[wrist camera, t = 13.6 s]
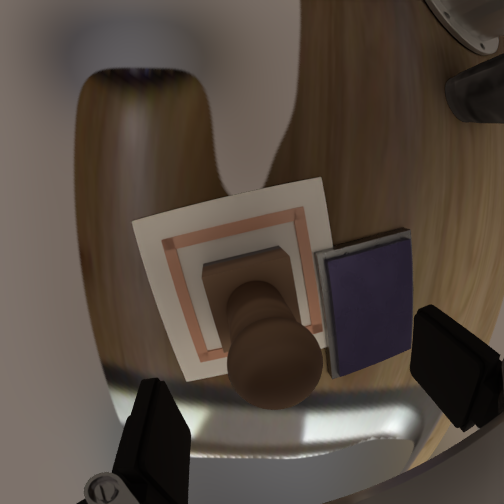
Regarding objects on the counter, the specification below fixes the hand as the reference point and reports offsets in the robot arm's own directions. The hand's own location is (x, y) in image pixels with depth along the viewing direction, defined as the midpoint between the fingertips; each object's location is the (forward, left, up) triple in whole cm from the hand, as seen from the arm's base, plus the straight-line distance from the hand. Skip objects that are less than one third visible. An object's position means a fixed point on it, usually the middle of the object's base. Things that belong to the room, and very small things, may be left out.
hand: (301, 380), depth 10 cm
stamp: (+1, -1, -11) cm, 11 cm away
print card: (+1, -1, -12) cm, 12 cm away
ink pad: (+5, +8, -12) cm, 15 cm away
